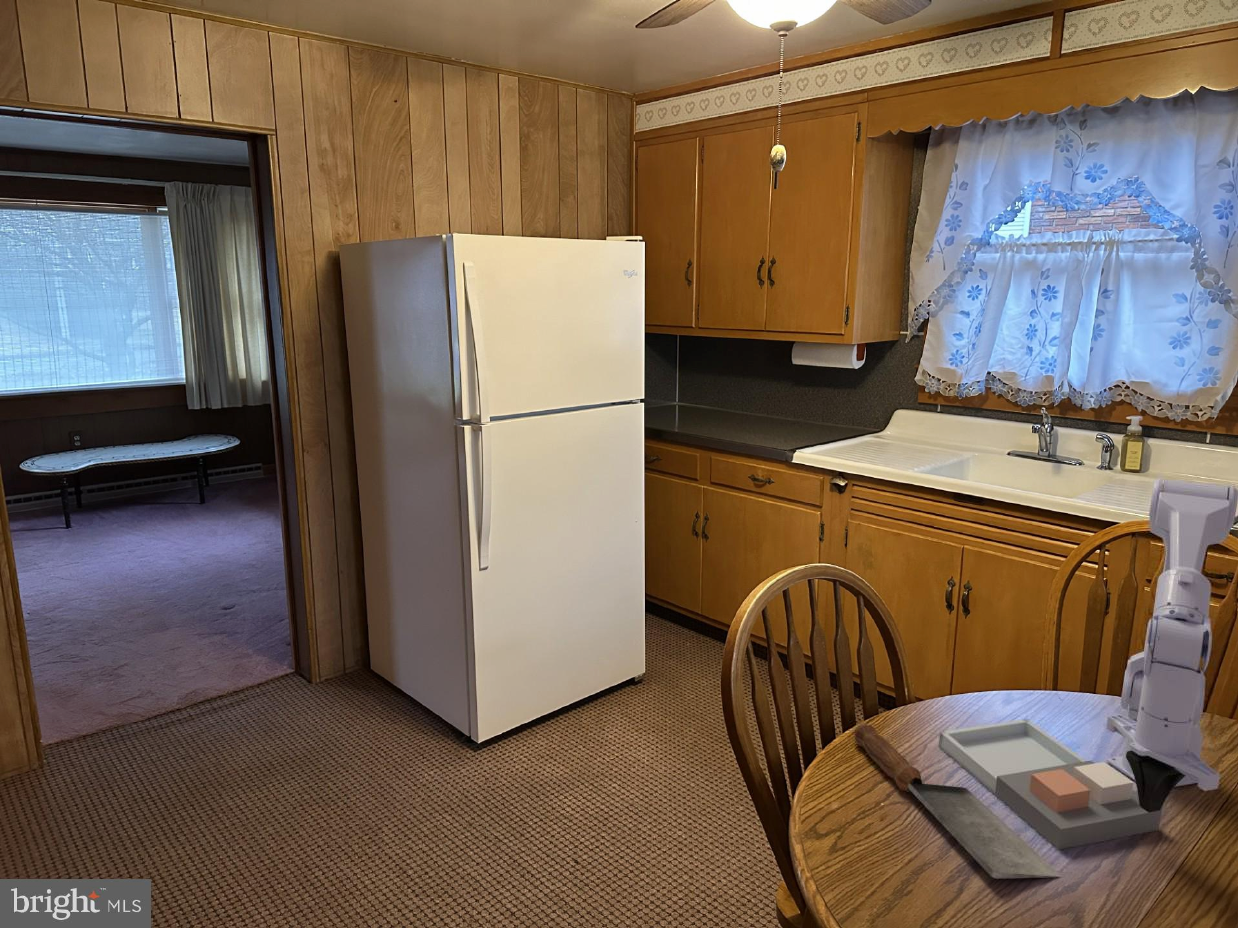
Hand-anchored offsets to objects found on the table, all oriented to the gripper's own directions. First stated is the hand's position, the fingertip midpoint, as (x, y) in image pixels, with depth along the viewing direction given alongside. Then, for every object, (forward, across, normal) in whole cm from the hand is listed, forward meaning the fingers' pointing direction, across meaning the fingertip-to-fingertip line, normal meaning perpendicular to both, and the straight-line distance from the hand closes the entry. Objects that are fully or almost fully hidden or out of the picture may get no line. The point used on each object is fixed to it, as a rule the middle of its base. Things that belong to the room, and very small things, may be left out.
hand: (1150, 808), depth 108 cm
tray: (+5, -21, -3) cm, 22 cm away
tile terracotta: (+2, -8, -7) cm, 11 cm away
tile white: (+2, -8, 0) cm, 8 cm away
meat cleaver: (+6, -15, -19) cm, 25 cm away
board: (+5, -8, -3) cm, 10 cm away
